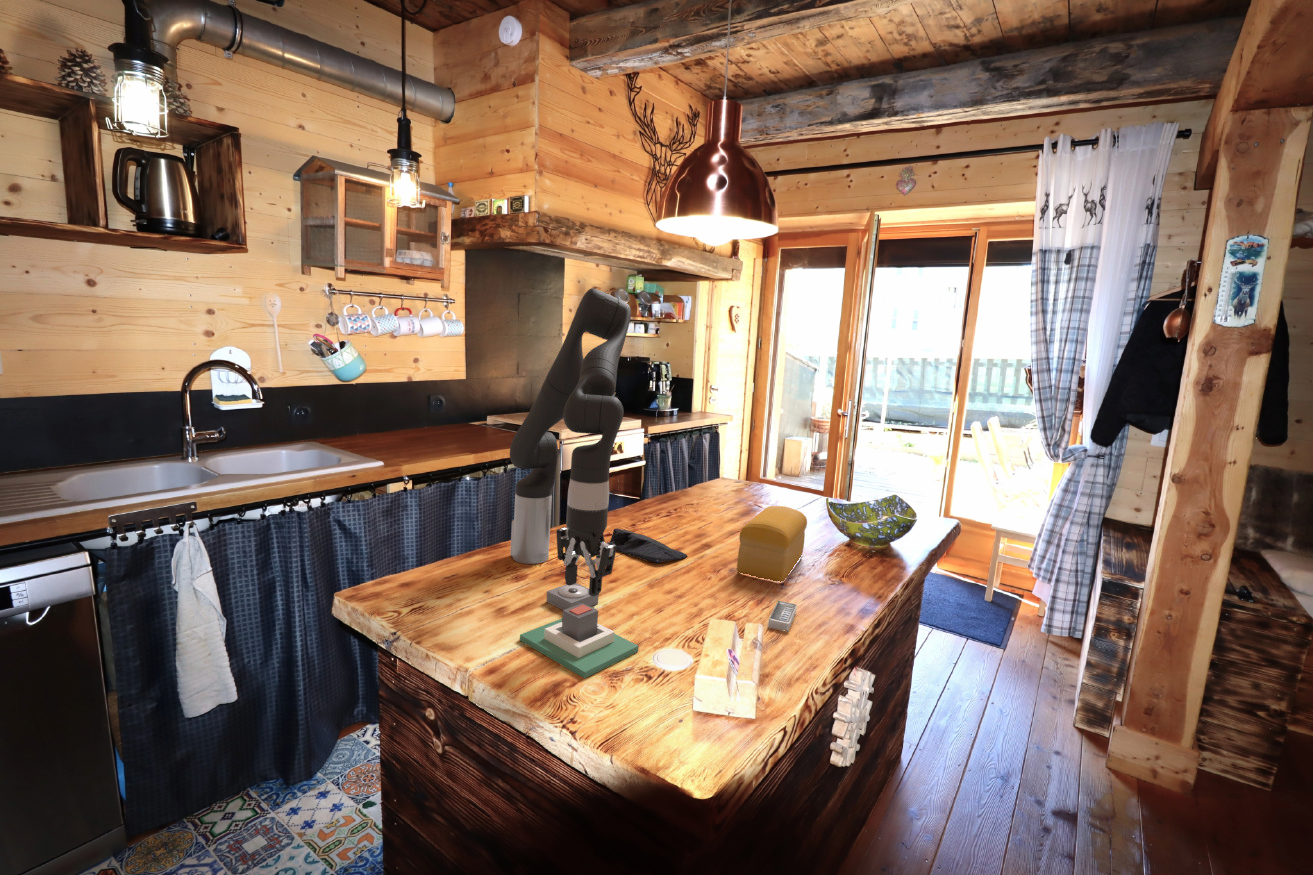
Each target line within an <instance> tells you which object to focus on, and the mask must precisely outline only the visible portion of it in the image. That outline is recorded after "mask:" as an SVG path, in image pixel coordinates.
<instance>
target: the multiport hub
mask: <svg viewBox="0 0 1313 875" xmlns="http://www.w3.org/2000/svg"><path fill="white" fill-rule="evenodd" d="M797 608H798V605H797V604H795V603H792V602H786V601H782V600H777V601H776V603H775V606H774V608H773V609H772V611H771V613H770V616H769V618H768V623H767V627H768V628H769V629H773V630H777V629H779V631H781V630H785V631H788V632H789V631H790V629H791V627H792V624H793V622H792V621H794V620H795V617H794V616H796V614H797ZM795 613H796V614H795ZM791 623H792V624H791ZM790 626H791V627H790ZM789 628H790V629H789ZM785 631H784V632H785Z"/></svg>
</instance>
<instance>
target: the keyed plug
mask: <svg viewBox="0 0 1313 875" xmlns="http://www.w3.org/2000/svg"><path fill="white" fill-rule="evenodd" d="M562 617H563V618H562ZM562 617H561V618H562V633H563V634H565V635H567V636H569V637H571V638H573V639H574V640H576V641H578V642H582V641H584V640H586V639H588V638H591V637H593V636H595V635H597V623H598V621H599V610H598V609H596V608H595V607H594V606H588V605H585V604H583V603H581V604H578V605H576V606H573V607H570V608H568V609H565V610H562Z"/></svg>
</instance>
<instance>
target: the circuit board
mask: <svg viewBox="0 0 1313 875" xmlns="http://www.w3.org/2000/svg"><path fill="white" fill-rule="evenodd" d="M562 618H563V616H562V617H561V618H559V619H557V620H553V621H551V622H549V623H545V624H544V625H541V626H538V627H535V628H534V629H530V630H528V631H526V632H523V633H520V634H519V641H520V642H522V643H524V644H525V645H526V646H529V647H530V648H532V649H534V650H535V651H537V652H539V653H541V654H542V655H544V656H546V657H547V658H549V659H551V660H552V661H554V662H555V663H557V664H558V665H561V666H562V667H564V668H565V669H568V670H570V671H571V672H573V673H574V674H576V675H578V676H579V677H581V678H583V679H587V678H588V677H590V676H593V675H595V674H597V673H598V672H600V671H602V670H604V669H607V668H608V667H610V666H612V665H614V664H616V663H618V662H620V661H623V660H624V659H626V658H628V657H630V656H632V655H634V654H636V653H638V652H639V646H640V645H638V644H636V643H634V642H632V641H630V640H628V639H626V638H624V637H622V636H621V635H618V634H616V633H615V630H614V631H613V630H612V629H610V628H609V627H606V626H603V625H602V624H600V623H598V622H597V635H595V636H593V637H591V638H588V639H586V640H584V641H582V642H578V641H576V640H574V639H573V638H571V637H569V636H567V635H565V634H563V633H562Z"/></svg>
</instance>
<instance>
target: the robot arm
mask: <svg viewBox="0 0 1313 875" xmlns="http://www.w3.org/2000/svg"><path fill="white" fill-rule="evenodd" d="M631 316H632V309H631V307H630V305H629V304H628V303H627V302H625V301H624V300H622V299H620V298H618V297H615V296H613V295H611V294H609V293H606V292H604V291H602V290H600V289H597V288H594V287H593V288H589V289H588V290H586V292H585V293H584V295H583V296H582V298H581V299H580V302H579V304H578V306H577V309H576V311H575V313H574V317H573V319H572V321H571V323H570V325H569V328H568V331H567V334H566V336H565V339H564V341H563V343H562V345H561V347H560V350H559V351H558V353H557V356H556V357H555V360H554V361H553V363H552V365H551V367H550V369H549V371H548V373H547V375H546V377H545V379H544V381H543V383H542V385H541V388H540V391H539V393H538V394H537V396H536V399H535V401H534V402H533V404H532V406H531V408H530V410H529V412H528V413H527V416H526V417H525V418H524V420H523V421H522V423H521V425H520V426H519V428H518V429H517V431H516V432H515V434H514V436H513V438H512V440H511V443H510V448H509V458H510V459H509V460H510V462H511V464H512V465H513V466H514V467H515V468H517V469H521V470H531V469H532V471H531V472H530V473H528V475H526V476H525V477H523V478H521V479H519V480H518V481H517V482H516V484H515V492H514V493H515V494H514V495H515V496H514V516H513V517H514V519H512V521H511V531H510V532H511V534H510V536H511V537H510V554H509V555H510V556H511V557H512V559H513V560H514V561H515V562H516V563H520V564H527V565H528V564H530V565H531V564H532V565H533V564H534V565H535V564H540V563H542V564H543V563H545V562H546V561H548V559H549V557H550V556H549V554H550V553H549V552H550V538H551V536H550V535H551V520H552V517H551V516H552V500H553V496H552V495H553V489H554V487H555V486H554V485H555V483H556V478H557V477H556V475H557V467H558V454H559V447H558V441H557V439H556V436H555V435H554V434H553V433H552V432H550V431H549V430H550V429H551V428H552V427H554V426H555V425H556V424H558V423H559V422H560V421H562V420H563V422H564V424H565V426H566V428H567V429H568V430H569V431H570V432H572V433H577V434H588V435H589V434H591V435H601V438H600V439H599V440H598V441H597V442H595V443H590V444H585V445H579V446H576V447H575V448H573V450H572V452H571V461H570V478H569V484H568V491H567V505H566V521H565V524H566V526H565V527H561V528H558V529H557V530H556V548H557V558H558V560H559V561H562V562H563V565H564V566H565V572H564V580H565V585H569V586H570V585H573V584H575V583H577V581H578V580H577V579H578V566H579V565H578V564H577V563H578V561H579V559H580V557H582V558H584V562H585V565H586V566H587V567H588V569H589V573H590V577H589V587H588V589H589V595H590V596H596V595H598V594H599V595H600V593H601V592H602V588H603V587H602V585H603V578H604V577H606V576H609V575H611V574H612V572H613V567H614V563H615V557H616V552H617V551H616V545H614V544H613V545H609V544H607V543H608V542H605V541H606V540H605V537H604V532H605V530H606V529H607V526H608V511H609V501H610V500H609V498H610V482H609V480H610V465H611V464H610V463H611V457H612V452H613V449H614V448H613V447H614V444H615V440H616V438H617V435H618V433H619V431H620V428H621V425H622V422H623V419H624V406H623V404H622V402H621V401H620V400H619V399H618V397H616V396H614V395H615V394H616V393H615V392H616V387H617V377H618V376H617V375H618V367H619V361H620V357H621V355H622V352H623V348H624V344H625V342H626V341H625V340H626V339H627V338H626V337H627V335H628V330H629V327H630V323H631ZM585 333H589V334H591V335H593V336H595V337H598V338H601V339H602V340H606V341H604V342H602V343H601V344H599V345H596V346H595V347H593V348H592V349H591V350H589V352H587V354H586V355H585V357H584V354H583V336H584V334H585ZM564 550H565V552H564ZM594 557H595V558H594ZM592 558H594V559H592ZM596 567H597V568H596Z"/></svg>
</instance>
